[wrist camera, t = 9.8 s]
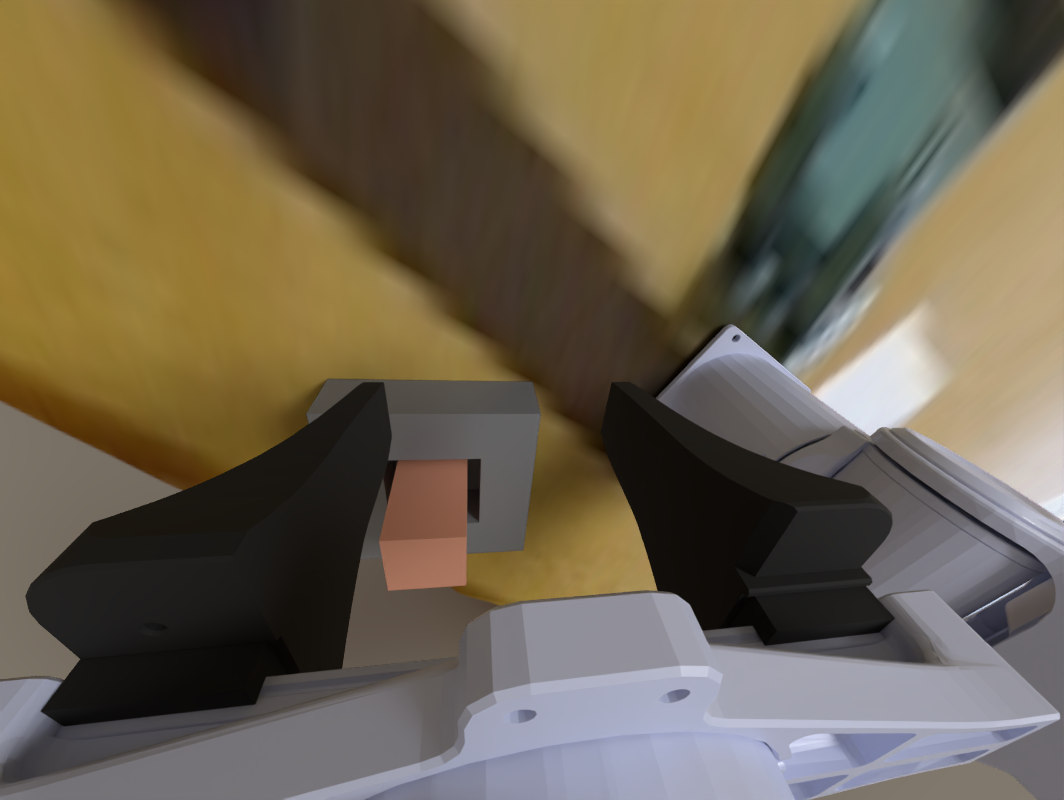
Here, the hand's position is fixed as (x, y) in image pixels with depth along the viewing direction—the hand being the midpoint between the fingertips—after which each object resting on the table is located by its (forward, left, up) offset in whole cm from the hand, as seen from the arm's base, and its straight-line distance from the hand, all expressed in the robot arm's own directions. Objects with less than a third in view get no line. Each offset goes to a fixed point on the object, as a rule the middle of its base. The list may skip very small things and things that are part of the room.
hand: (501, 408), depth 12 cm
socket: (-3, +11, -10) cm, 15 cm away
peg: (-3, +11, -10) cm, 15 cm away
